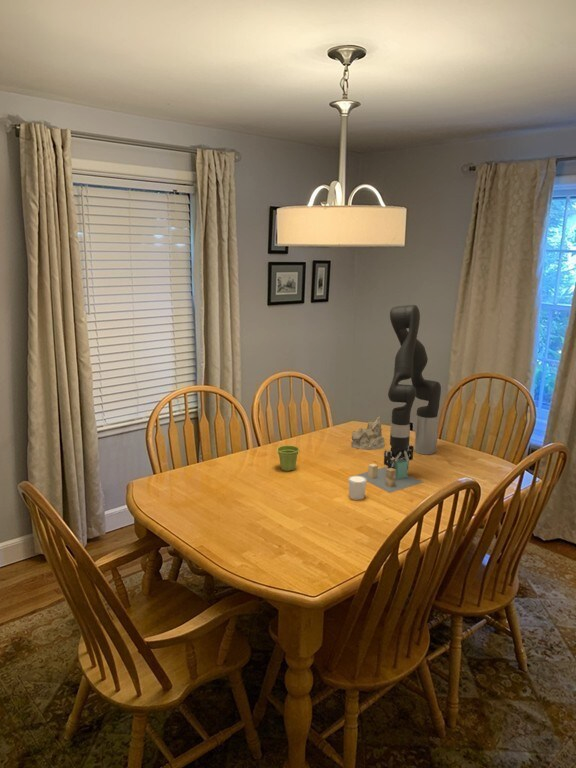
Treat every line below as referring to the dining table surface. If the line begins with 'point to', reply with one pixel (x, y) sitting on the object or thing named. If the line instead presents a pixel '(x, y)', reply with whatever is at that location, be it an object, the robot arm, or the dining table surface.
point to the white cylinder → (357, 487)
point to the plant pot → (288, 457)
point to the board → (379, 479)
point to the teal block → (401, 468)
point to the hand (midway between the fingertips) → (397, 472)
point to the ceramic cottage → (369, 436)
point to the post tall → (390, 477)
